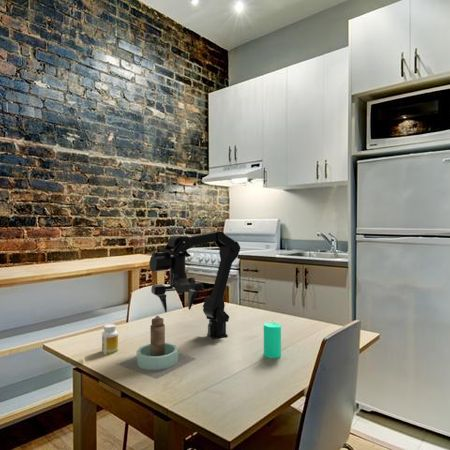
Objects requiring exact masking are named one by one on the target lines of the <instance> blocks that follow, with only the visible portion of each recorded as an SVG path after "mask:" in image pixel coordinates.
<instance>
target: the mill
mask: <svg viewBox="0 0 450 450" xmlns="http://www.w3.org/2000/svg"><path fill="white" fill-rule="evenodd" d="M164 320H165V319H164V318H162V317H160V316H159V315H156V316H155V318H151V325H150V328H149V329H150V344H151V356H163V355H165V343H166V336H165V333H166V331H165V330H166V326H165V322H164Z"/></svg>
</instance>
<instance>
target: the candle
mask: <svg viewBox="0 0 450 450" xmlns="http://www.w3.org/2000/svg"><path fill="white" fill-rule="evenodd" d="M273 321H274V320H272V321H271V322H266V323H264V324H263V356H264V357H265V358H268V359H269V358H270V359H278V358H281V356H282V325H281V324H279V323H277V322H273Z"/></svg>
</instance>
